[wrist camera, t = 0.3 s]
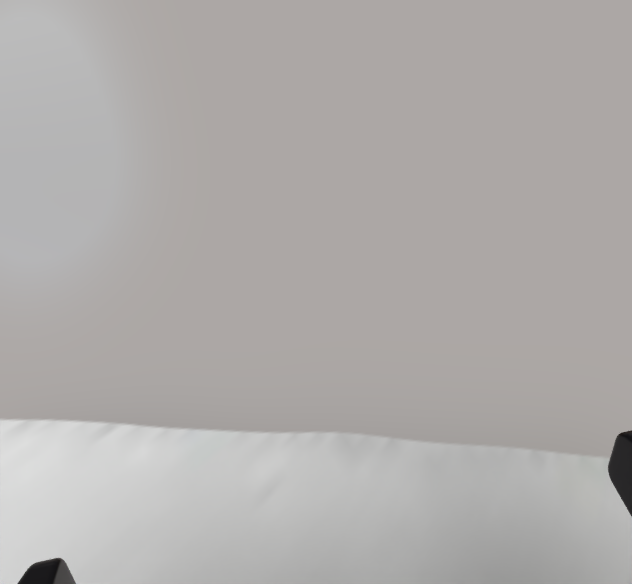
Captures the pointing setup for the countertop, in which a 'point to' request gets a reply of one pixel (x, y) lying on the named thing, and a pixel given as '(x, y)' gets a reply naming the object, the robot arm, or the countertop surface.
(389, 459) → the countertop surface
